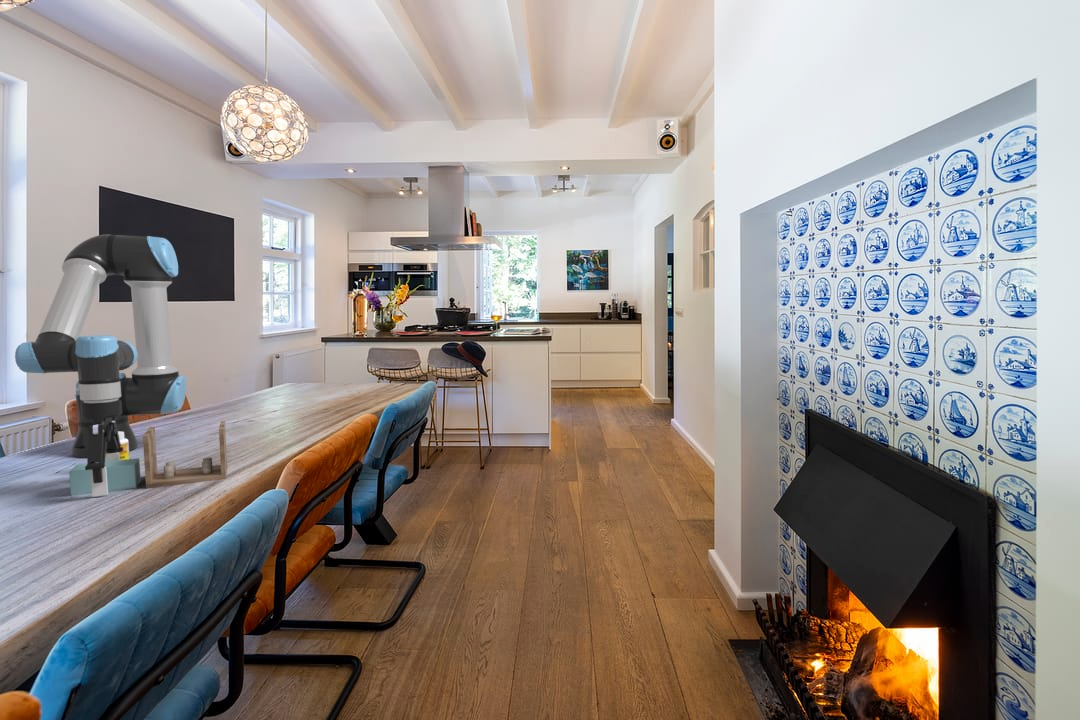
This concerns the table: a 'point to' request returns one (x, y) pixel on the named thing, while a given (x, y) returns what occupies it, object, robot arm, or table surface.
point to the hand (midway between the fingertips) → (107, 486)
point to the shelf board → (118, 476)
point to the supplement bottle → (125, 444)
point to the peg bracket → (184, 475)
